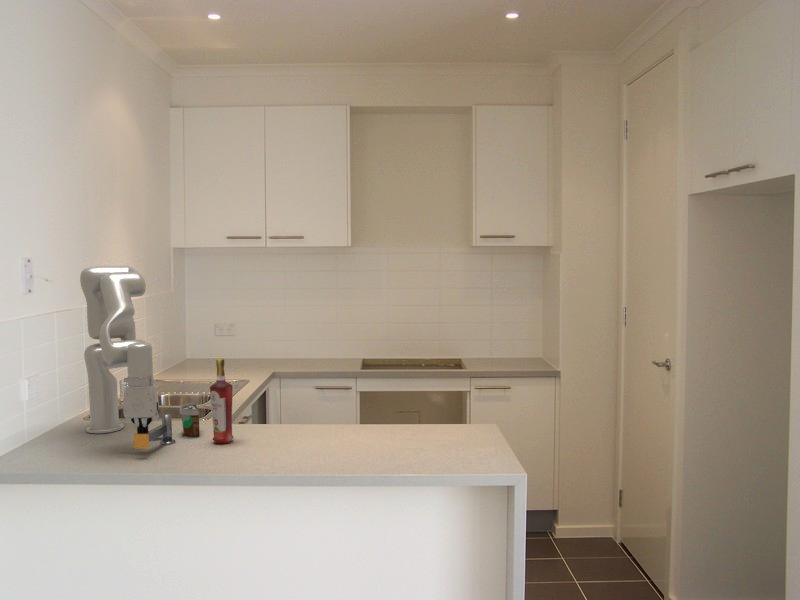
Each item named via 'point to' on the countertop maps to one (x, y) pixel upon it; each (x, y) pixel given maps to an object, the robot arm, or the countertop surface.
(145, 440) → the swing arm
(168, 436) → the pivot post
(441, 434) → the countertop surface
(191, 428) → the food container
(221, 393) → the liquor
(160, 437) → the label tile
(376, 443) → the countertop surface
